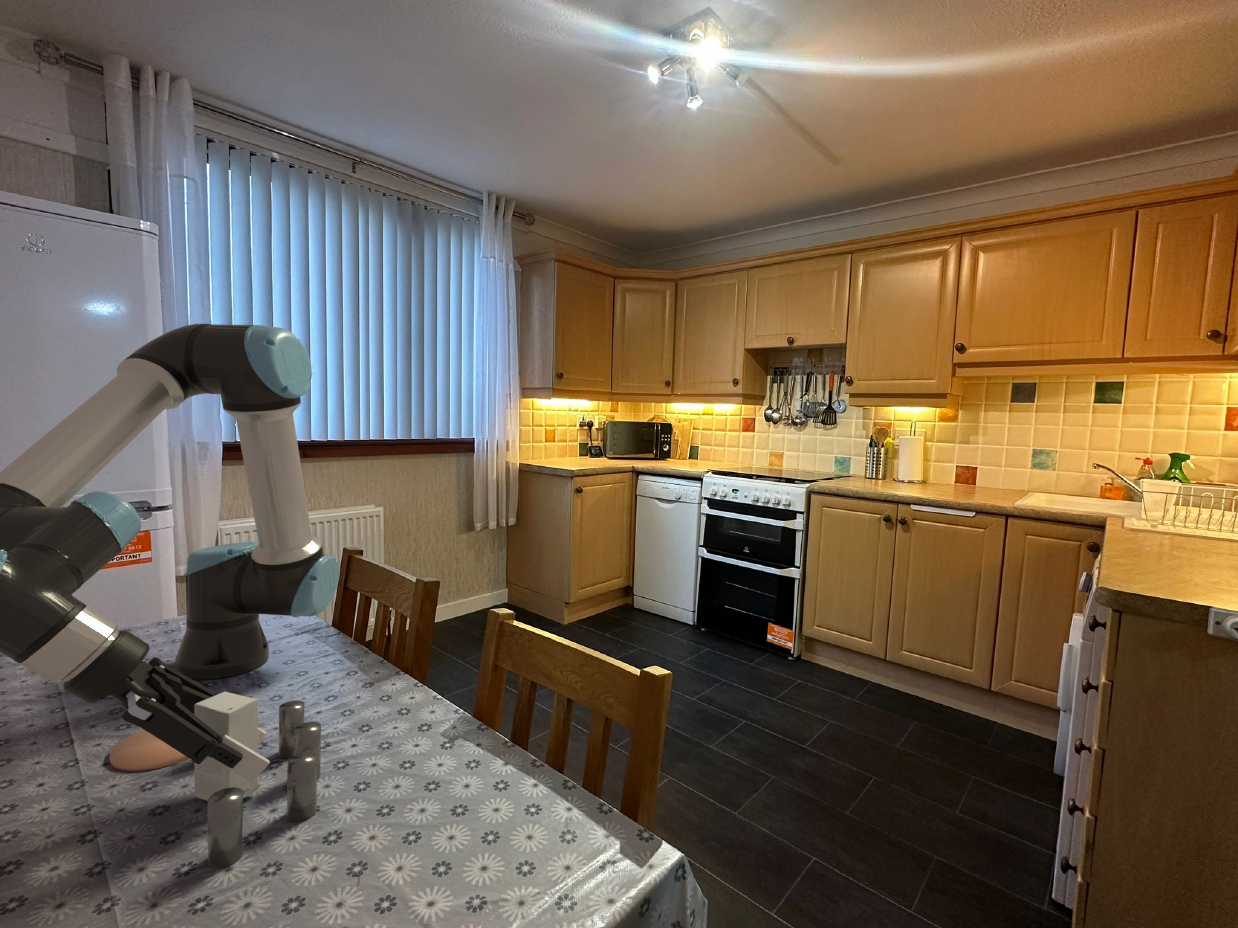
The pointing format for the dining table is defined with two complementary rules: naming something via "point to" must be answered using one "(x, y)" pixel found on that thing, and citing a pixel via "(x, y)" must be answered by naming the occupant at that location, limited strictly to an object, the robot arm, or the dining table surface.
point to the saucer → (143, 753)
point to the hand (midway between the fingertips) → (259, 755)
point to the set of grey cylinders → (302, 776)
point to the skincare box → (236, 722)
